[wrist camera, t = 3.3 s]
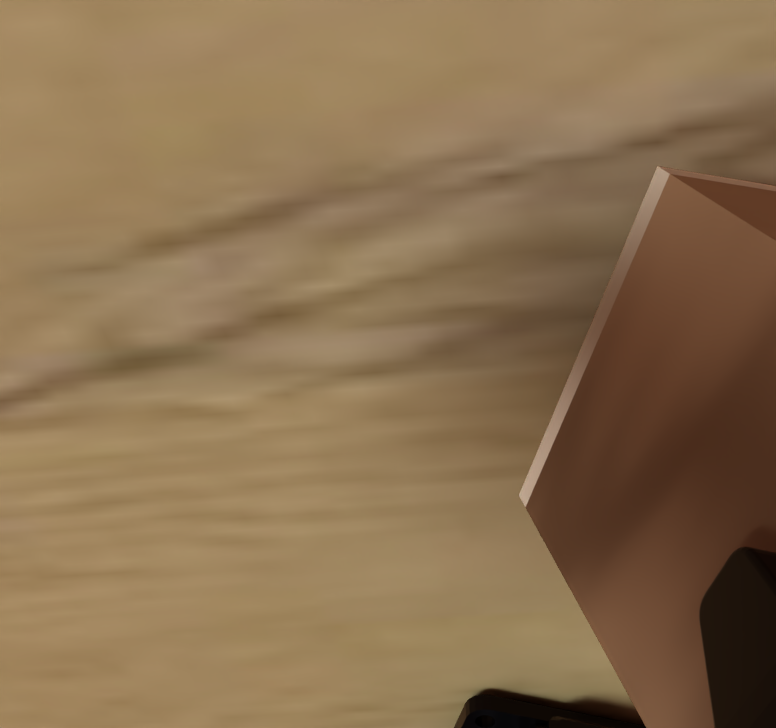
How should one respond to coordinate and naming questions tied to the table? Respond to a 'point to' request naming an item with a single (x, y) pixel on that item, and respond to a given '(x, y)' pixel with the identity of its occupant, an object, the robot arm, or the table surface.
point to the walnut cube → (667, 435)
